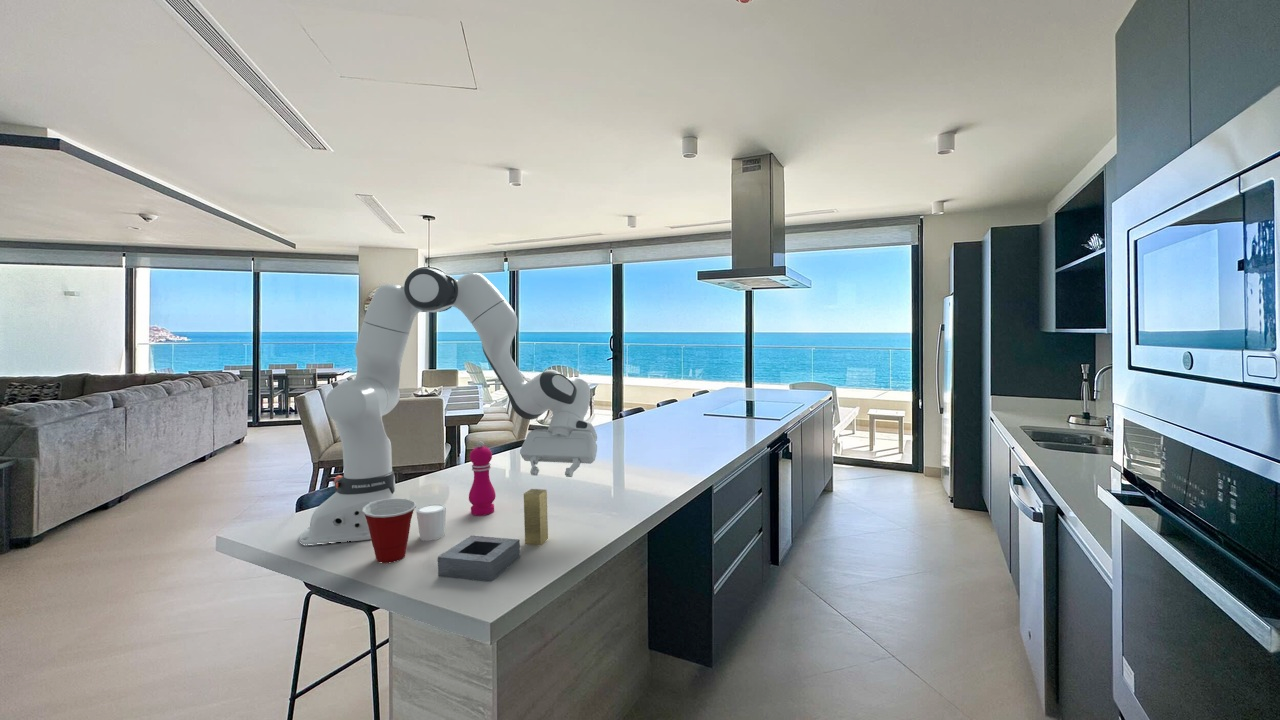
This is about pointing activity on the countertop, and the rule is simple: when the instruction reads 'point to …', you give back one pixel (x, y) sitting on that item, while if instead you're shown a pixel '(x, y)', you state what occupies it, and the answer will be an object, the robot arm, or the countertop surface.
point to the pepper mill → (481, 482)
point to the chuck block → (479, 558)
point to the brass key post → (535, 516)
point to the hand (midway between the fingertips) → (550, 475)
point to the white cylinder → (431, 521)
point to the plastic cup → (389, 527)
